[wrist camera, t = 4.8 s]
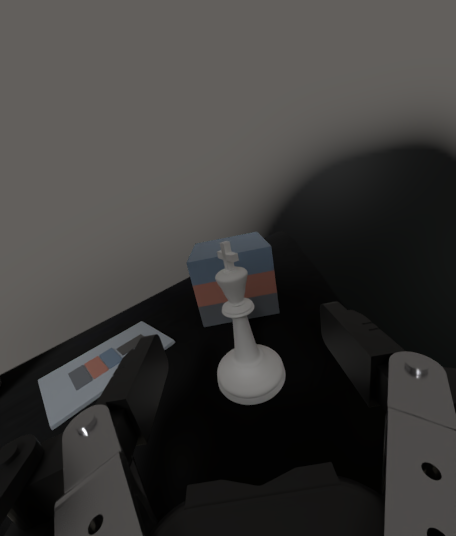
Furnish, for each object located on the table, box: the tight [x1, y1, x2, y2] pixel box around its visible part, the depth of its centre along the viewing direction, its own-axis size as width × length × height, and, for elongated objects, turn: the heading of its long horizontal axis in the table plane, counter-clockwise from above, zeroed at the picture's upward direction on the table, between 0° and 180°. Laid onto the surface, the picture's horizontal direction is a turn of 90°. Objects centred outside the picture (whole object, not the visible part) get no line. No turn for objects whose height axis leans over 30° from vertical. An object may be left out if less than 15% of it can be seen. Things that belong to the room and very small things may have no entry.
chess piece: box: [215, 241, 285, 405], centre depth 14 cm, size 5×5×10 cm
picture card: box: [38, 321, 175, 430], centre depth 20 cm, size 10×7×1 cm
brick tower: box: [187, 232, 280, 327], centre depth 25 cm, size 8×8×7 cm
